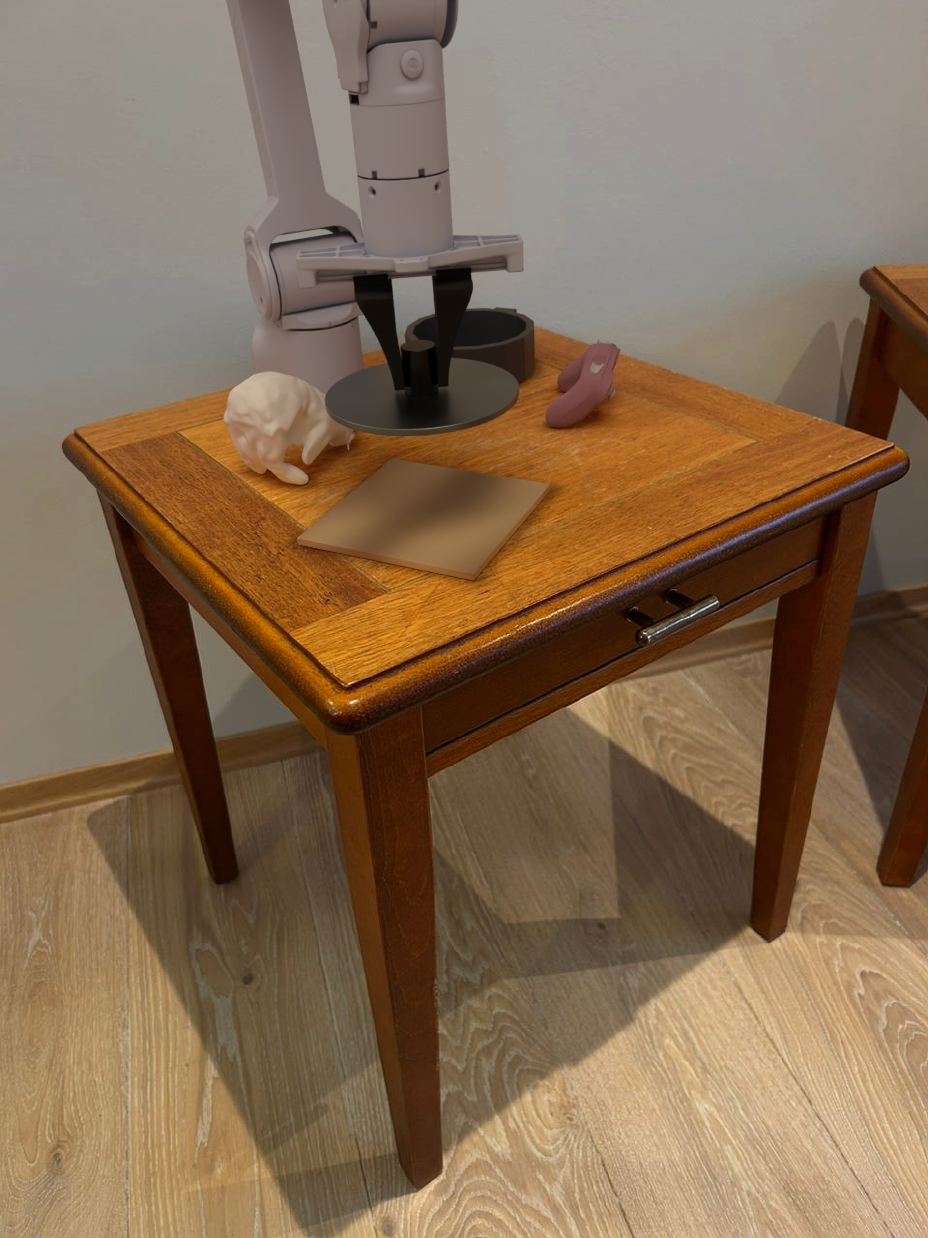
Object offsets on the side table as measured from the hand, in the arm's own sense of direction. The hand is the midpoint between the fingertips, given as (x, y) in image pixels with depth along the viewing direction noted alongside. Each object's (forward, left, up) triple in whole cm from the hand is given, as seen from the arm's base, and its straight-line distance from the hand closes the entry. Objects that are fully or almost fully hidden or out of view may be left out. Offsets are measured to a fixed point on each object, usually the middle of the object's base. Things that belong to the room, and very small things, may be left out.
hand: (420, 383), depth 67 cm
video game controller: (+4, +22, -10) cm, 25 cm away
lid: (0, 0, -1) cm, 1 cm away
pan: (-10, +28, -10) cm, 31 cm away
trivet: (0, -1, -10) cm, 10 cm away
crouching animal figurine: (-14, +4, -10) cm, 17 cm away
